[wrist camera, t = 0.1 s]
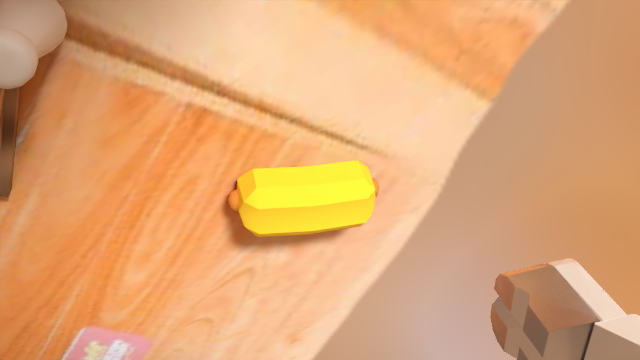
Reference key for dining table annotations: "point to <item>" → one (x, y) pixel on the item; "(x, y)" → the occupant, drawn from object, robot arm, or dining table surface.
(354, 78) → the dining table surface
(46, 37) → the salt shaker
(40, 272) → the dining table surface
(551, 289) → the robot arm
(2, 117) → the board
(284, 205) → the yellow faceted rounded part
